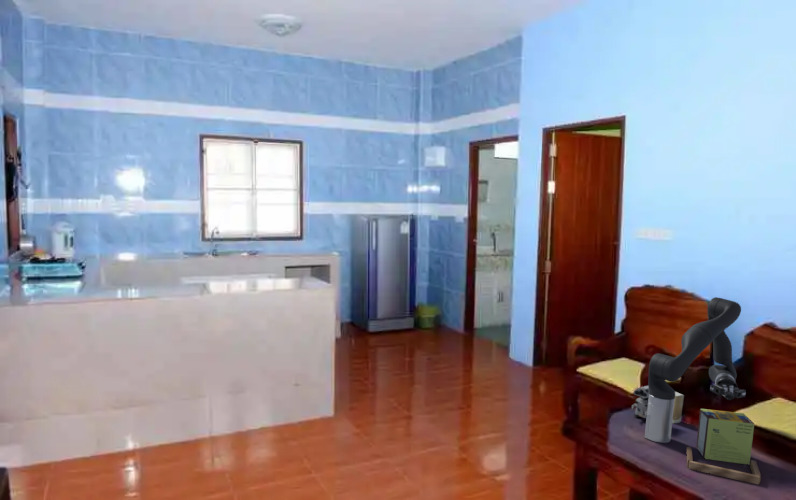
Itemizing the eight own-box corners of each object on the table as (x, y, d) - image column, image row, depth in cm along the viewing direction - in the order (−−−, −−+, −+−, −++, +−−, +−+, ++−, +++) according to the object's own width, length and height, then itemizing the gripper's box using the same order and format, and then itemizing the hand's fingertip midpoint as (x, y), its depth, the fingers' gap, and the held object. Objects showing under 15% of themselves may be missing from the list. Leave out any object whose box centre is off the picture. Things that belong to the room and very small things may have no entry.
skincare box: (661, 418, 248) (664, 390, 247) (668, 417, 250) (671, 389, 249) (674, 423, 242) (677, 395, 241) (681, 422, 244) (684, 394, 243)
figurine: (624, 418, 245) (627, 384, 244) (643, 415, 250) (647, 382, 249) (641, 427, 237) (645, 391, 235) (661, 423, 242) (664, 389, 240)
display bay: (687, 468, 202) (688, 461, 201) (686, 453, 214) (687, 446, 214) (760, 485, 192) (761, 477, 192) (755, 467, 205) (755, 461, 205)
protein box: (750, 465, 207) (755, 423, 206) (703, 459, 210) (708, 418, 209) (739, 452, 217) (744, 412, 216) (695, 447, 220) (699, 407, 219)
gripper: (708, 372, 239) (711, 384, 224) (745, 378, 234) (750, 391, 218) (706, 390, 240) (709, 403, 225) (743, 396, 235) (748, 410, 219)
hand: (729, 397), depth 221 cm, fingers closed
